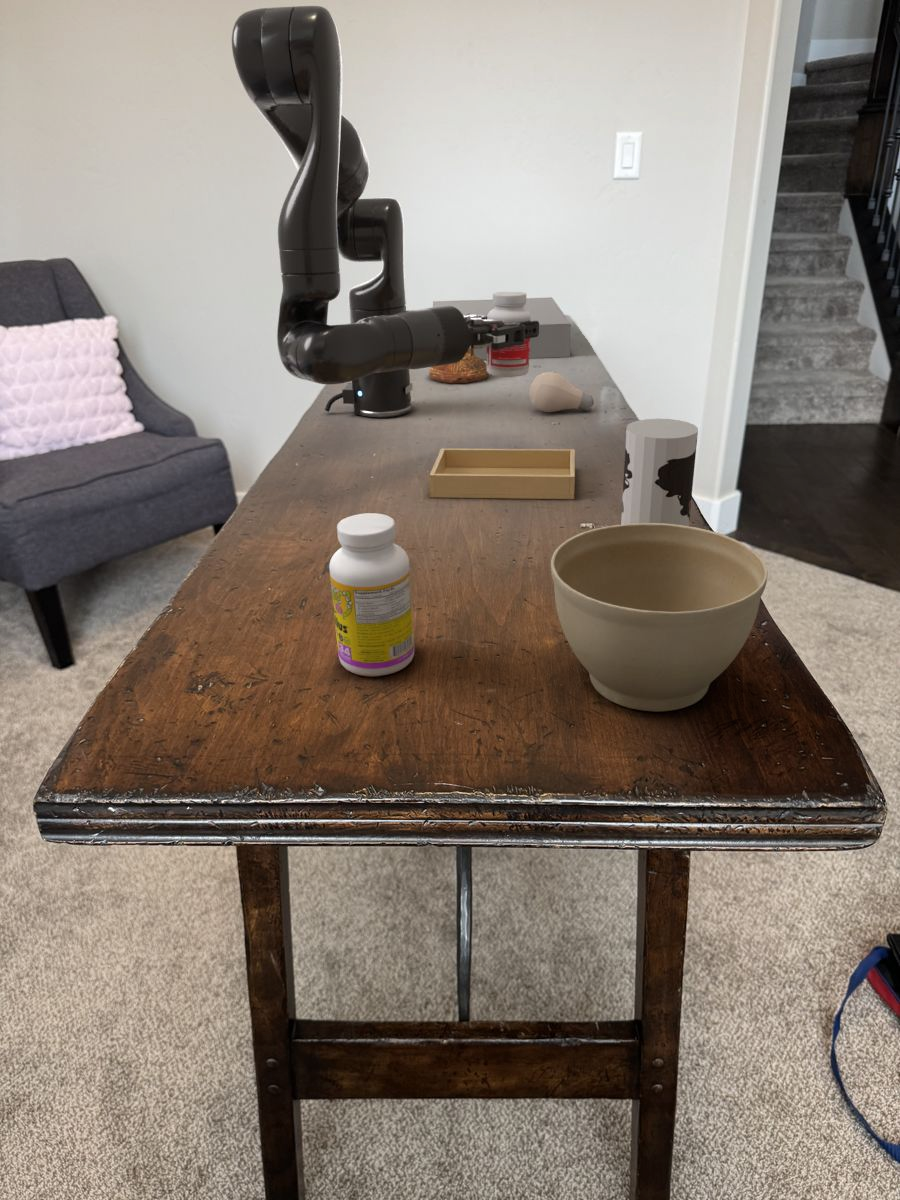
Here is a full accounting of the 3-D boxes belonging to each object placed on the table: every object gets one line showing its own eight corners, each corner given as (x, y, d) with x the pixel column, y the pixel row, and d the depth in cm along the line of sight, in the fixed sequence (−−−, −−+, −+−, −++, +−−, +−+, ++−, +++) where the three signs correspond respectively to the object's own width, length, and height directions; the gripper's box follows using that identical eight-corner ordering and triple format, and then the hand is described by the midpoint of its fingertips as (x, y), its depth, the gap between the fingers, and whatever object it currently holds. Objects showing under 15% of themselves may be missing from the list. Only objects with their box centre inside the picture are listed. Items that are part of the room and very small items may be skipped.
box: (569, 356, 186) (570, 322, 183) (432, 361, 186) (430, 327, 183) (551, 327, 217) (551, 297, 214) (433, 331, 218) (432, 301, 214)
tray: (430, 497, 113) (429, 475, 112) (441, 469, 123) (440, 448, 122) (574, 499, 111) (574, 476, 110) (574, 470, 121) (574, 449, 120)
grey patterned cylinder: (698, 572, 91) (713, 429, 84) (649, 589, 88) (661, 442, 81) (652, 551, 96) (662, 414, 90) (604, 566, 93) (611, 426, 86)
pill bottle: (536, 375, 127) (540, 294, 123) (499, 379, 125) (501, 297, 120) (514, 367, 132) (517, 289, 128) (478, 371, 130) (479, 291, 125)
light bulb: (587, 430, 147) (524, 413, 146) (586, 412, 152) (524, 396, 151) (601, 394, 143) (535, 377, 142) (599, 377, 148) (535, 360, 147)
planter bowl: (542, 635, 81) (544, 523, 76) (722, 633, 80) (736, 520, 75) (555, 740, 66) (559, 611, 61) (775, 739, 65) (797, 608, 61)
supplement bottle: (340, 643, 80) (326, 510, 75) (413, 638, 81) (405, 505, 75) (337, 682, 74) (323, 541, 69) (416, 677, 75) (408, 536, 69)
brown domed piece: (493, 370, 177) (492, 332, 174) (484, 384, 166) (483, 345, 163) (435, 370, 179) (434, 332, 176) (423, 384, 168) (421, 345, 165)
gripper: (458, 315, 111) (557, 303, 120) (395, 302, 122) (490, 292, 131) (458, 375, 115) (554, 359, 124) (396, 358, 125) (489, 344, 134)
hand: (521, 325), depth 127 cm, fingers closed on pill bottle, 6 cm apart
